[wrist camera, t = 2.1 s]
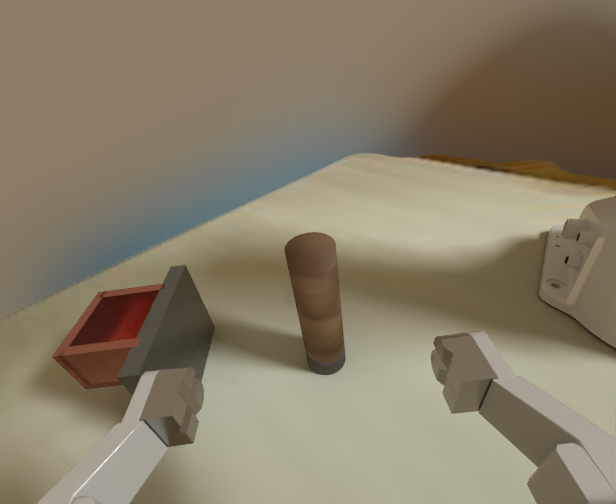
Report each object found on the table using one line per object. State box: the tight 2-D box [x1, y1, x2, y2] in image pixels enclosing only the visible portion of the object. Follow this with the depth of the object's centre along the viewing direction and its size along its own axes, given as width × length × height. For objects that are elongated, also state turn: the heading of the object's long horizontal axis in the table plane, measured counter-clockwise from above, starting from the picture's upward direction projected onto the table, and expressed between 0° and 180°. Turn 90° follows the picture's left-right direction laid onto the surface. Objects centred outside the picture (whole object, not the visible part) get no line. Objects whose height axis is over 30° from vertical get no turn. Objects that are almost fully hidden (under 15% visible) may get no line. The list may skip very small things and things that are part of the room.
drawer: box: [53, 265, 214, 395], centre depth 28 cm, size 12×8×10 cm, turn 3°
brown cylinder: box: [285, 232, 345, 375], centre depth 27 cm, size 4×4×14 cm
